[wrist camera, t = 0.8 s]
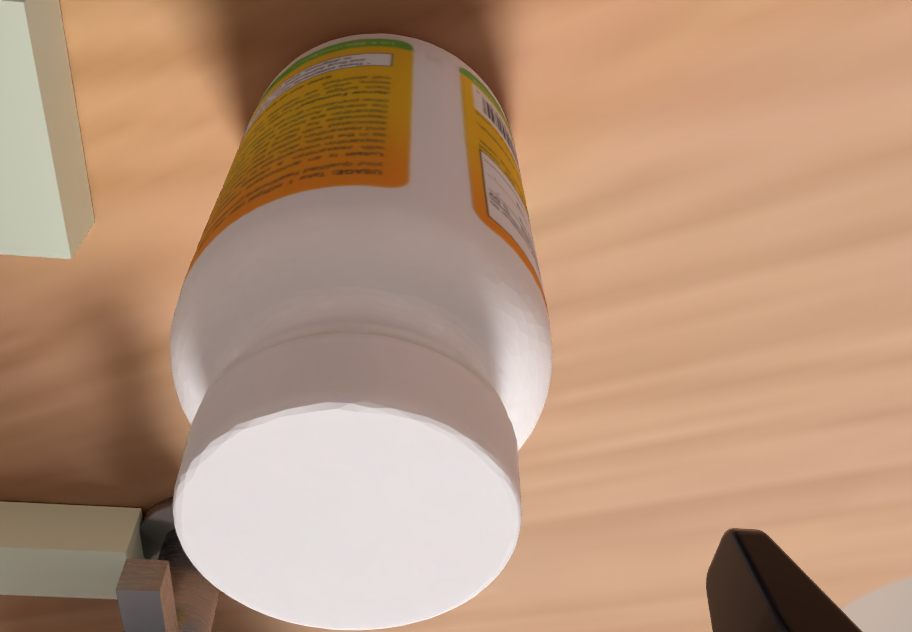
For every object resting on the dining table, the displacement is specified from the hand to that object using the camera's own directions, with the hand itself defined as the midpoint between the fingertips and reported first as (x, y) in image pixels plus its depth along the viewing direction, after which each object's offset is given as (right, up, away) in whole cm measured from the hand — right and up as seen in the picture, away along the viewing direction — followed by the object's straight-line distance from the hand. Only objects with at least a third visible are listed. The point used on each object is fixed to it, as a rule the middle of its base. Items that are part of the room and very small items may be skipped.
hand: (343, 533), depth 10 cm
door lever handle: (-6, -3, +14) cm, 15 cm away
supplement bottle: (0, +6, +8) cm, 10 cm away
